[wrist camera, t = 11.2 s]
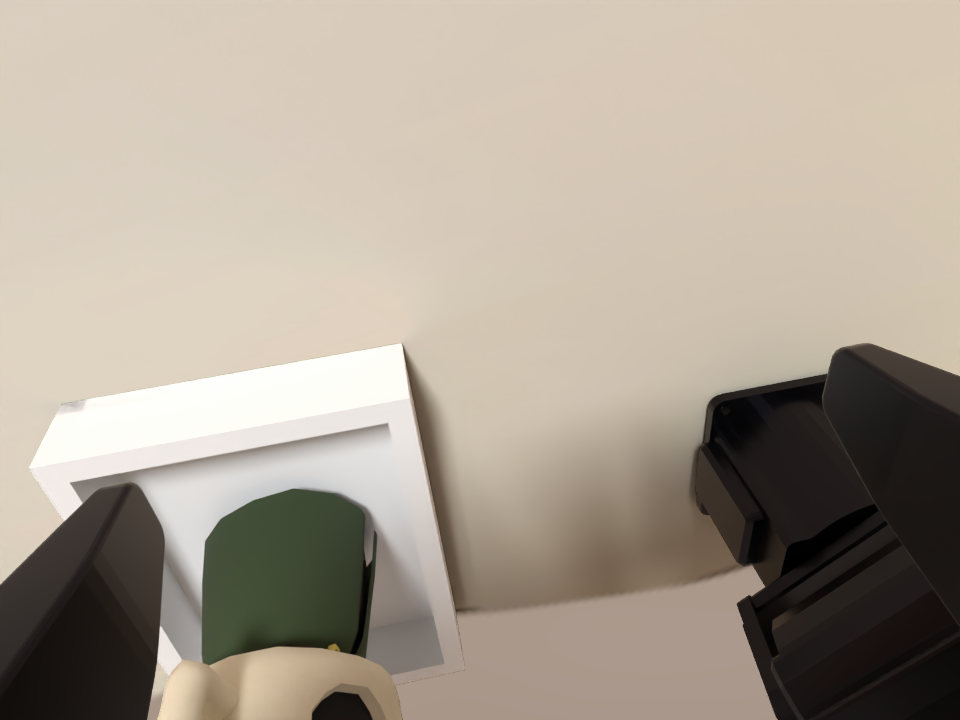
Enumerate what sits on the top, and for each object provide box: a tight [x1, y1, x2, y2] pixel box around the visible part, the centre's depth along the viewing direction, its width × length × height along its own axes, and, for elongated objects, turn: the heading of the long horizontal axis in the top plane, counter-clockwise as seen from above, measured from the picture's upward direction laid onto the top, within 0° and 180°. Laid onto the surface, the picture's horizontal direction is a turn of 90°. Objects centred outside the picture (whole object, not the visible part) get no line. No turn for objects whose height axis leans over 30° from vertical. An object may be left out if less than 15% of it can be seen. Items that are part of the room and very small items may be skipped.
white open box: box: [29, 343, 465, 685], centre depth 26 cm, size 11×15×3 cm
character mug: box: [157, 488, 403, 720], centre depth 22 cm, size 11×7×13 cm, turn 18°
